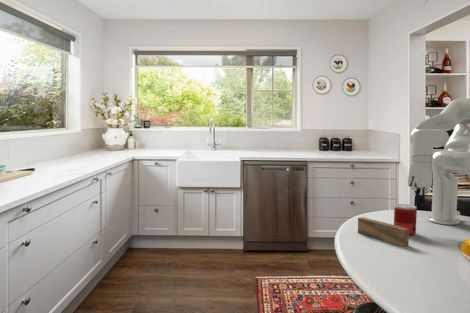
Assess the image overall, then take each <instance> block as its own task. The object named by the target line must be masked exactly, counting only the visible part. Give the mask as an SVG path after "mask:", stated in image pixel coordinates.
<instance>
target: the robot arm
mask: <svg viewBox="0 0 470 313" xmlns="http://www.w3.org/2000/svg"><path fill="white" fill-rule="evenodd" d="M469 125H470V97H469V98H457V99H456V98H455V99H453V100H451V101H450V102H448V104H447V105H446V106H445V107H444V108H443V109H442V110H441V112H440V113H439V114H437V115H434V116H432V117H429V118H428V119H424V120H423V121H421V122H419V123H418V124H417V125H416V126H415V128H414V129H413V130H412V131H411V133H410V136H409V140H410V142H411V144H412V145H411V147H412V150H411V163H410V164H409V170H408V176H407V177H408V178H407V186H408V187H409V188H410V187H411V188H410V190H411V191H413V192H414V193H413V194H414V205H415V204H416V205H419V206H424V205H425V204H426V203H425V200H426V195H427V191H428V190H430V187H432V196H431V197H432V198H431V199H432V201H431V202H432V203H431V215H429V216H427V220H428V221H429V222H432V223H435V224H441V225H447V226H449V225H450V226H452V225H460V224H461V220H460V218H457V216H460V215H461V212H460V210H457V208H458V207H457V206H458V205H457V204H458V186H459V185H458V179H457V178H456V176H455V175H454V174H458V175H459V174H460V175H470V126H469ZM451 130H453V131H452V133H451V134H450V135H449V133H448V132H447V131H451ZM441 147H442V148H443V150H439V151H436V152H434V148H441Z"/></svg>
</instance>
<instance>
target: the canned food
mask: <svg viewBox="0 0 470 313" xmlns="http://www.w3.org/2000/svg"><path fill="white" fill-rule="evenodd" d="M393 208H394V209H393V211H394V212H393V225H396V226H400V227H403V228H407V229H409V237H411V236H412V235H413V236H415V235H416V233H417V211H418V209H417V208H418V207H417V205H416V206H415V205H413V204H408V203H407V204H406V203H398V204H394V207H393Z"/></svg>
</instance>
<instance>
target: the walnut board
mask: <svg viewBox="0 0 470 313" xmlns="http://www.w3.org/2000/svg"><path fill="white" fill-rule="evenodd" d="M357 233H358V234H361V235H362V236H363V235H364V236H367V237H370V238H374V239H377V240H380V241H383V242H386V243H389V244H393V245H396V246H400V247H404V246H405V247H408V246H409V241H410V240H409V239H410V236H409V229H407V228H403V227H400V226H396V225H394V224H391V223H387V222H383V221H380V220H376V219H372V218H368V217H364V216H363V217H362V216H361V217H358V218H357Z"/></svg>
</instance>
